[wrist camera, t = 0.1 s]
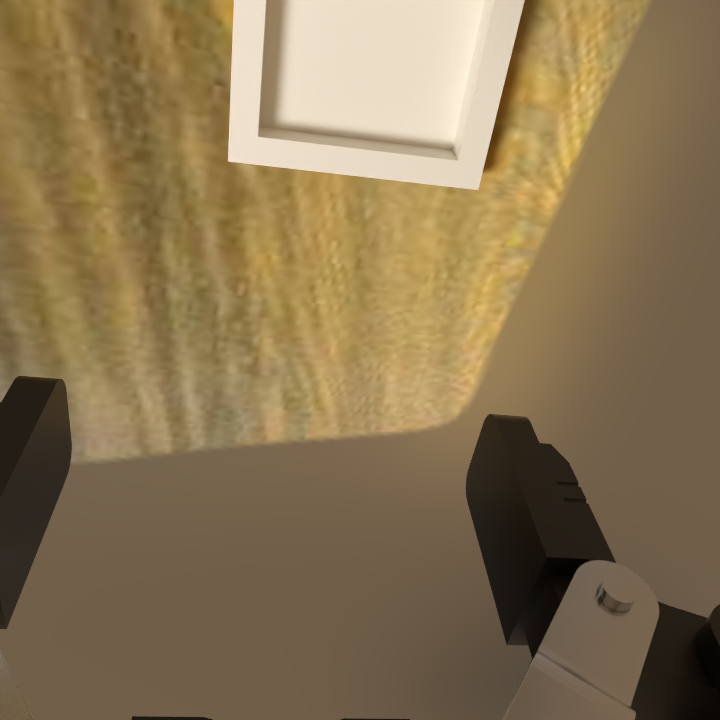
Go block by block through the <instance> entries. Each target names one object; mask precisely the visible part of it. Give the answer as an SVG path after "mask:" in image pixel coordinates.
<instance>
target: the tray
mask: <svg viewBox="0 0 720 720" xmlns="http://www.w3.org/2000/svg"><path fill="white" fill-rule="evenodd" d="M524 1H525V0H234V16H233V43H232V70H231V97H230V124H229V151H228V161H229V162H238V163H247V164H256V165H264V166H273V167H282V168H291V169H299V170H308V171H317V172H326V173H334V174H343V175H352V176H361V177H369V178H378V179H387V180H396V181H404V182H413V183H422V184H431V185H440V186H448V187H457V188H466V189H475V190H478V189H479V185H480V181H481V177H482V172H483V168H484V164H485V160H486V156H487V152H488V148H489V144H490V140H491V136H492V132H493V128H494V123H495V119H496V115H497V111H498V107H499V103H500V99H501V95H502V91H503V87H504V83H505V79H506V74H507V70H508V66H509V62H510V58H511V54H512V50H513V46H514V42H515V38H516V34H517V30H518V26H519V21H520V17H521V13H522V9H523V5H524Z"/></svg>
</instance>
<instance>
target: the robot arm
mask: <svg viewBox="0 0 720 720" xmlns="http://www.w3.org/2000/svg"><path fill="white" fill-rule="evenodd" d="M71 452H72V442H71V432H70V422H69V412H68V402H67V393H66V386H65V383H64V381H63V380H62V379H53V378H40V377H27V376H18V377H17V378H16V379H15V380H14V381H13V383H12V385H11V387H10V388H9V390H8V392H7V393H6V395H5V397H4V399H3V400H2V402H1V403H0V629H7V626H8V624H9V622H10V619H11V616H12V614H13V611H14V609H15V606H16V604H17V601H18V599H19V596H20V594H21V591H22V589H23V586H24V584H25V581H26V579H27V576H28V574H29V571H30V569H31V566H32V563H33V561H34V558H35V556H36V553H37V551H38V548H39V546H40V543H41V541H42V538H43V536H44V533H45V531H46V528H47V526H48V523H49V521H50V518H51V515H52V513H53V510H54V508H55V505H56V503H57V500H58V498H59V495H60V493H61V490H62V488H63V485H64V483H65V480H66V477H67V474H68V471H69V467H70V461H71ZM466 497H467V502H468V506H469V509H470V513H471V517H472V520H473V524H474V528H475V531H476V535H477V539H478V542H479V546H480V549H481V553H482V557H483V560H484V564H485V568H486V571H487V575H488V579H489V582H490V586H491V590H492V593H493V597H494V600H495V604H496V608H497V611H498V615H499V619H500V622H501V626H502V630H503V633H504V637H505V640H506V644H507V645H528V646H529V649H530V652H531V656H532V660H531V662H530V664H529V666H528V668H527V670H526V672H525V674H524V677H523V678H522V680H521V682H520V685H519V687H518V689H517V691H516V693H515V695H514V697H513V699H512V701H511V703H510V705H509V707H508V709H507V711H506V713H505V715H504V717H503V719H502V720H720V605H718V606H717V607H716V608H714V610H713V611H712V612H711V614H710V615H709V617H708V618H705V617H703V616H699V615H696V614H693V613H690V612H686V611H684V610H681V609H677V608H674V607H671V606H668V605H666V604H663V603H660V602H658V601H657V599H656V597H655V594H654V593H653V592H652V590H651V588H650V587H649V586H648V585H647V584H646V582H645V581H643V580H642V579H641V578H640V577H639V576H638V575H636V574H635V573H634V572H632V571H631V570H629V569H627V568H625V567H623V566H621V565H619V564H616V562H615V560H614V557H613V555H612V553H611V551H610V549H609V547H608V544H607V542H606V540H605V538H604V536H603V534H602V532H601V530H600V528H599V525H598V523H597V521H596V519H595V517H594V515H593V513H592V511H591V508H590V506H589V504H586V498H585V496H584V494H583V492H582V489H581V487H578V481H577V479H576V477H575V474H574V473H573V470H572V468H571V466H570V464H569V462H568V461H567V460H566V459H565V458H564V457H563V456H562V455H561V454H560V453H559V452H558V451H557V450H556V449H555V448H554V447H553V446H552V445H551V444H543V443H539V441H538V439H537V436H536V434H535V432H534V430H533V427H532V425H531V423H530V421H529V419H528V418H527V417H521V416H508V415H495V414H489V415H488V416H487V417H486V419H485V421H484V423H483V426H482V429H481V432H480V435H479V438H478V441H477V444H476V448H475V451H474V454H473V457H472V460H471V463H470V466H469V469H468V473H467V479H466ZM0 720H33V718H32V715H31V714H30V711H29V709H28V707H27V705H26V703H25V701H24V699H23V697H22V695H21V693H20V691H19V689H18V687H17V684H16V682H15V680H14V678H13V676H12V674H11V672H10V670H9V668H8V666H7V664H6V662H5V659H4V657H3V656H2V653H1V651H0ZM132 720H212V719H208V718H204V717H135V716H134V717H132ZM341 720H410V719H341Z"/></svg>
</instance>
